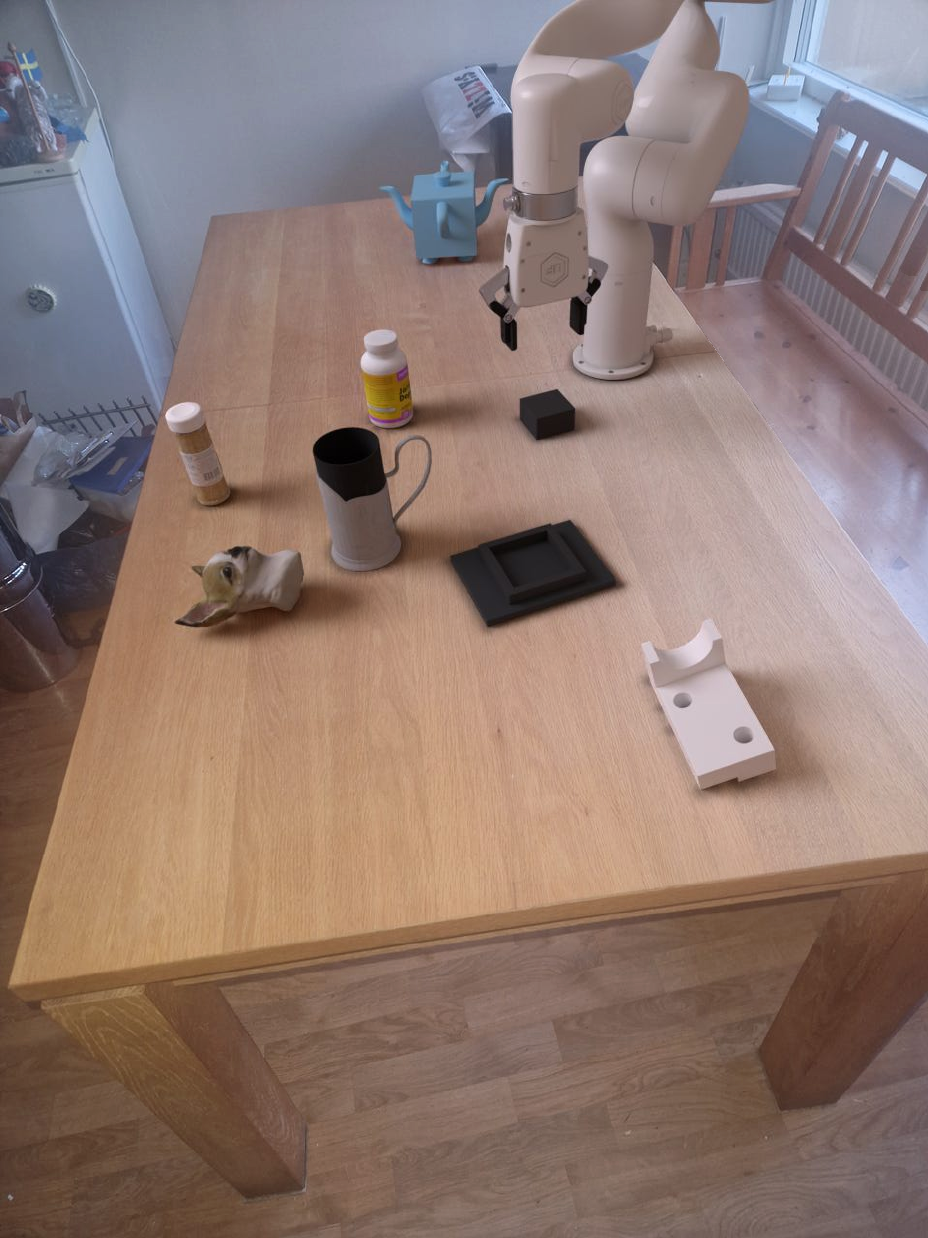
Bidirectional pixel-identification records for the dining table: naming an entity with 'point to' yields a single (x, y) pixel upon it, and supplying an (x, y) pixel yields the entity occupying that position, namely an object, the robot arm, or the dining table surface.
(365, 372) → the supplement bottle
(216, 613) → the ceramic sculpture
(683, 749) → the bracket
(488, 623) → the base pad
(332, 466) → the glass holder
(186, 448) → the sprinkles bottle
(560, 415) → the black pad
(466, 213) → the teakettle
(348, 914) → the dining table surface
